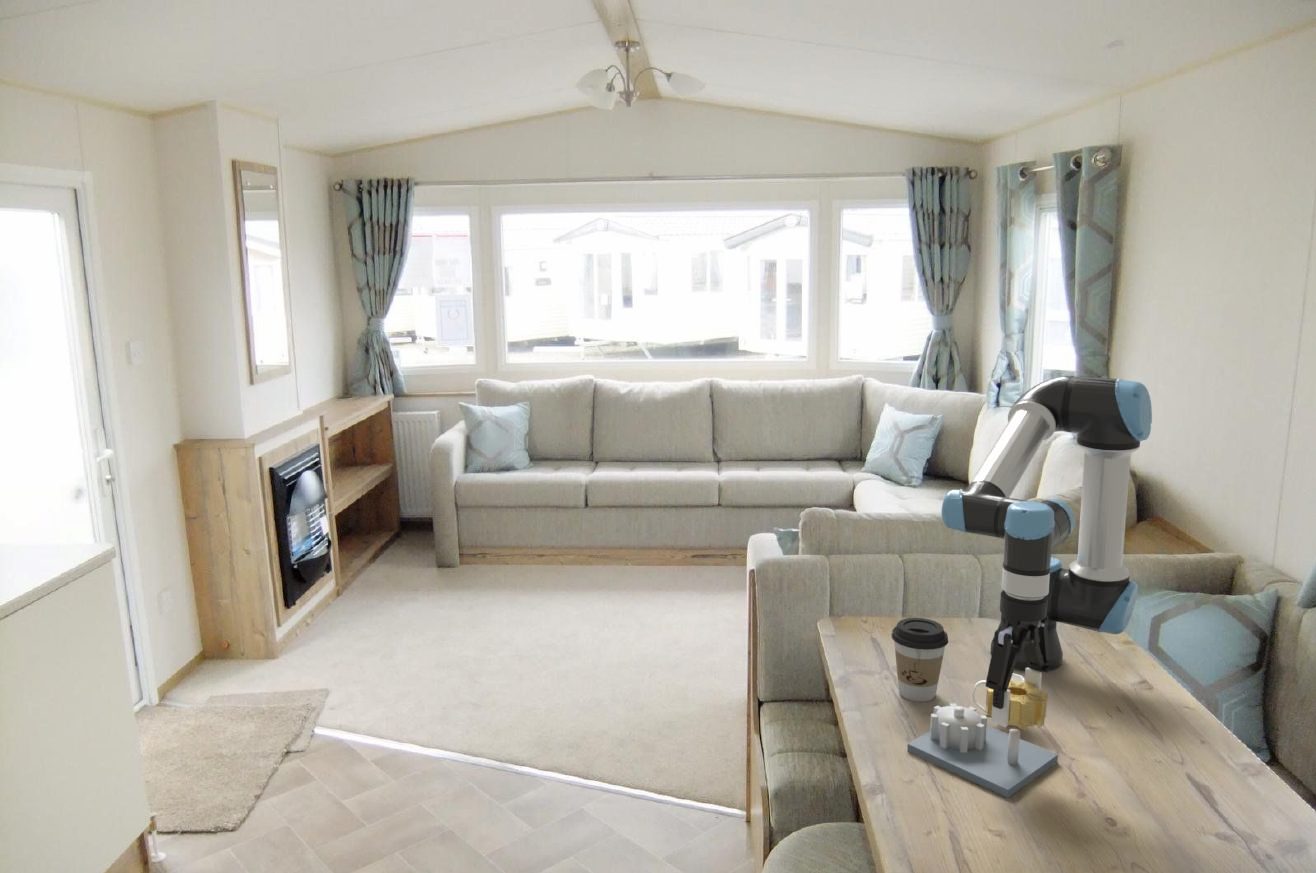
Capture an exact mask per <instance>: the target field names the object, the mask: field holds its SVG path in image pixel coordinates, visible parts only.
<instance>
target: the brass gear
mask: <svg viewBox="0 0 1316 873" xmlns="http://www.w3.org/2000/svg"><path fill="white" fill-rule="evenodd" d="M1008 690H1010V704H1009V718H1008V726H1014V727H1015V726H1016V727H1018V728H1019V729H1020V730H1028V729H1029V727H1034V726H1037V727H1043V726H1045V718H1046V716H1047V705H1048V693H1047V691H1046V690H1043V689H1041V690H1038V689H1037V688H1036V687H1035V684H1033V683H1030V682H1027V683H1023V682H1016V681H1014V680H1013V679H1011V680H1010V683H1009V686H1008ZM992 701H993V689H991V688H986V701H985V709H986V713H985V715H986V717H991V715H992Z"/></svg>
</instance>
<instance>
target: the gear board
mask: <svg viewBox="0 0 1316 873" xmlns="http://www.w3.org/2000/svg"><path fill="white" fill-rule="evenodd" d="M929 721H930V723H929V731H926V732H925V733H924V734H922V735H920V736H918V737H917V738H915V739H913V740H911V741H910V742H908V743H907V752H908V753H911V754H912V755H914V756H917V757H919V758H921V759H924V760H926V761H927V762H929V763H932V764H934V765H936V766H938V767H941V768H943V769H945V770H946V771H949V772H951V773H953V774H956V775H958V776H960V777H962V778H963V779H966V780H968V781H970V782H972V783H974V784H977V785H978V786H981V787H983V788H985V789H988V790H989V791H992V792H994V793H996V794H998V795H1000V796H1003V797H1005V798H1007V799H1008V798H1010V797H1012V796H1013V795H1014V794H1016V793H1017V792H1019V791H1020V790H1021V789H1023V787H1025V786H1026V785H1029V783H1031V782H1032V781H1033V780H1035V779H1036V778H1038V777H1039V776H1040V775H1041V774H1043V773H1045V772H1046V771H1047V770H1049V769H1051V767H1053V766H1054V765H1056V764H1057V763H1058V762H1059V761H1058V759H1059V754H1057V753H1055V752H1053V751H1050V750H1049V749H1046V748H1044V747H1041V746H1040V745H1039V746H1038V745H1036V744H1033V743H1031V742H1028V741H1026V740H1023V739H1021V731H1020V730H1019V729H1017V728H1010V729H1009V730H1008V733H1007V732H1004V731H1001V730H1000V729H997V728H995V727H992V726H990V725H988V716H987V715H986V714H981V715H980V714H979V713H978V712H977V708H975V707H973V706H969V707H965V706H962V705H961V706H960V705H958V704H957V703H949V704H948V705H946V706H940V705H936V706H933V713H931V714H930V720H929Z"/></svg>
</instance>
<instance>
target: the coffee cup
mask: <svg viewBox="0 0 1316 873" xmlns="http://www.w3.org/2000/svg"><path fill="white" fill-rule="evenodd" d="M944 629H945V628H944V626H943V625H942V624H941V623H939V622H937V621H935V620H932V619H930V618H924V617H923V618H922V617H907V618H903V619H901V620H899V621H897V624H896V626H894V627H893V629H892V631H891V634H890V635H891V639H892V640H893V641H894V649H895V650H894V651H895V662H896V674H897V675H896V676H897V684H898V685H897V686H898V691H899V694H900V696H901V697H903V698H904V699H906V700H908V701H912V702H917V703H924V702H926V703H927V702H931V701H932V700H934V698H935V696H936V694H937V692H938V691H937V690H938V687H939V686H938V685H939V679H940V674H941V669H942V664H943V659H944V654H945V648H946V646H947V645H948V643H949V637H948V636H949V635H948V633H947V632H946V631H945V630H944Z"/></svg>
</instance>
